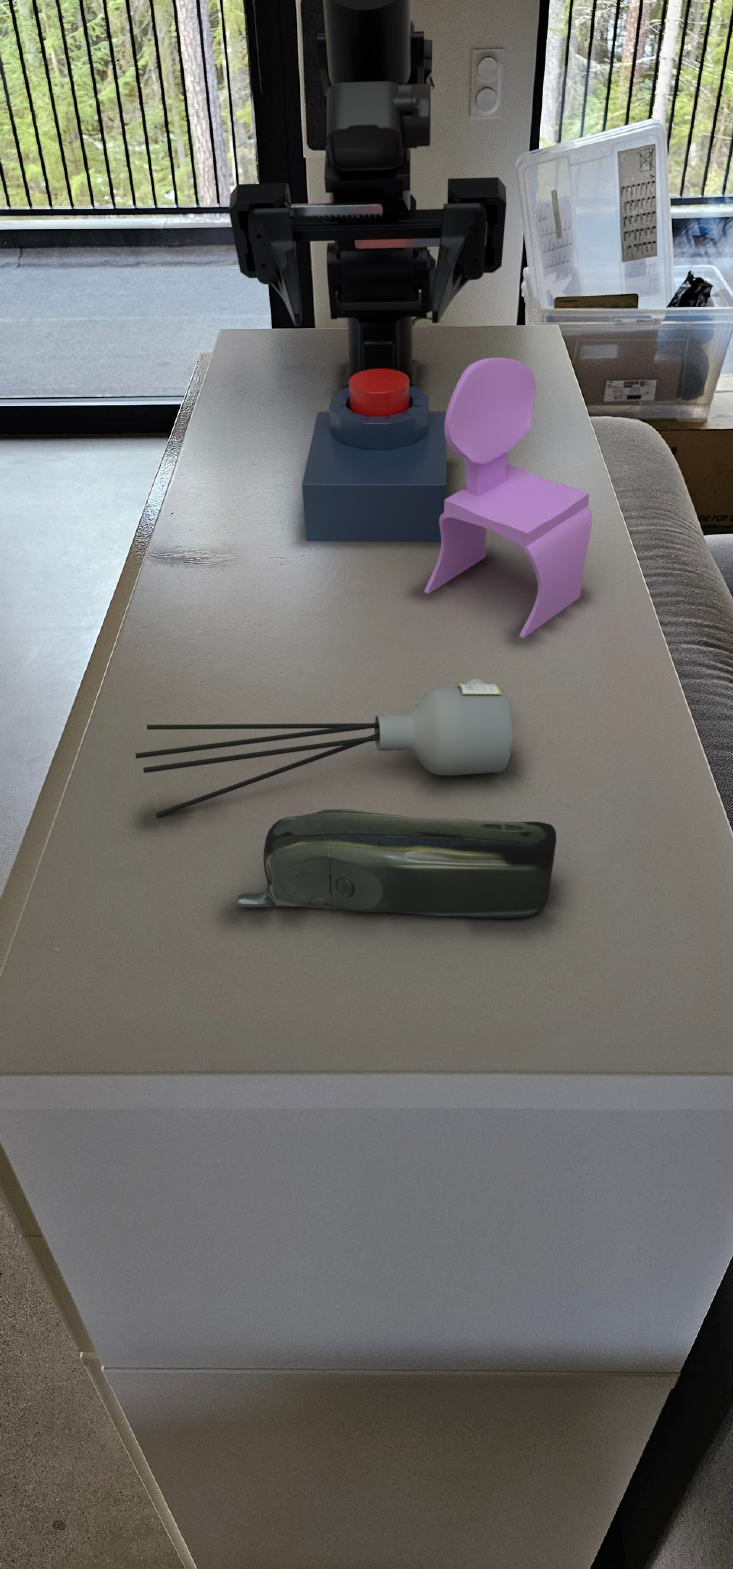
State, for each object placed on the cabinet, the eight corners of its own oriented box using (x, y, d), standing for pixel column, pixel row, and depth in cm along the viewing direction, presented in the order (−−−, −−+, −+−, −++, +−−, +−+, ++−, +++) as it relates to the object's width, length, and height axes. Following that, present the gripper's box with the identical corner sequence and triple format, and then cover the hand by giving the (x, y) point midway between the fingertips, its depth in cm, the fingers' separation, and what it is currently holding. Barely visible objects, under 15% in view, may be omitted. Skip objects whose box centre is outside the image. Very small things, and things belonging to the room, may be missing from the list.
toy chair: (519, 649, 69) (538, 418, 59) (413, 599, 73) (413, 376, 63) (595, 593, 73) (624, 370, 63) (490, 549, 78) (502, 334, 68)
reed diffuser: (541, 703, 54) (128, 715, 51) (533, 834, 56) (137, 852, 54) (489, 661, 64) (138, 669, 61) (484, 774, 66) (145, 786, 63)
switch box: (321, 461, 89) (316, 382, 84) (445, 461, 88) (447, 381, 84) (306, 542, 79) (299, 457, 75) (444, 542, 79) (446, 457, 74)
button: (352, 395, 83) (351, 368, 82) (410, 395, 83) (410, 368, 82) (347, 420, 80) (346, 392, 79) (408, 420, 80) (408, 392, 78)
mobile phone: (556, 808, 51) (235, 802, 52) (562, 854, 49) (227, 848, 49) (545, 880, 54) (243, 875, 55) (550, 927, 52) (236, 921, 53)
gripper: (224, 48, 72) (204, 218, 66) (509, 38, 71) (516, 210, 65) (249, 197, 83) (234, 356, 77) (498, 190, 82) (503, 351, 75)
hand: (365, 319), depth 73 cm, fingers open, 9 cm apart
